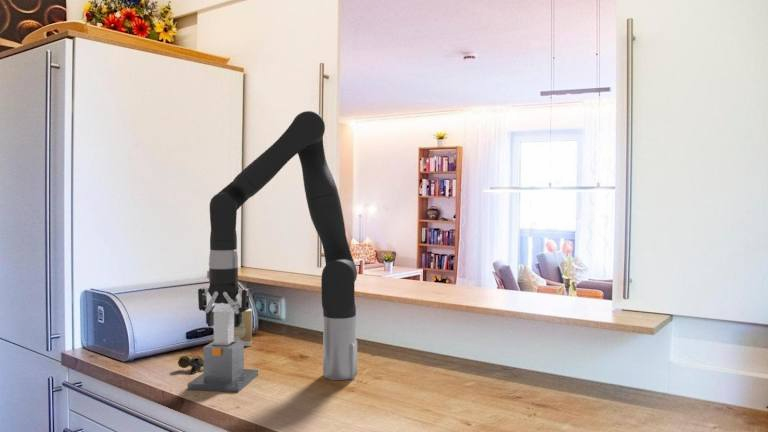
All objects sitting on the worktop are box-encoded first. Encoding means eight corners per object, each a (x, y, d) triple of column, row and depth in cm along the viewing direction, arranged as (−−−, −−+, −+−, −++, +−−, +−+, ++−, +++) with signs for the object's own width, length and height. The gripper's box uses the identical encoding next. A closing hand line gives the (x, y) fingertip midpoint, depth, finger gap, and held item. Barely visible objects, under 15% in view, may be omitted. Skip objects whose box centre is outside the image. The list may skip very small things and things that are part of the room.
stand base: (258, 375, 156) (257, 338, 156) (238, 392, 142) (238, 351, 142) (211, 372, 158) (211, 336, 158) (187, 389, 144) (187, 349, 144)
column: (234, 374, 152) (233, 309, 151) (228, 378, 148) (227, 312, 147) (220, 373, 152) (220, 309, 152) (214, 378, 148) (213, 311, 148)
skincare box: (232, 347, 185) (232, 311, 185) (233, 343, 190) (233, 308, 189) (251, 346, 187) (251, 310, 186) (252, 342, 191) (252, 308, 190)
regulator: (232, 369, 163) (183, 360, 164) (232, 358, 162) (183, 349, 163) (222, 385, 156) (171, 376, 157) (223, 374, 155) (171, 364, 156)
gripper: (254, 264, 152) (254, 324, 152) (205, 263, 154) (205, 322, 154) (243, 268, 144) (243, 330, 145) (192, 267, 146) (192, 328, 147)
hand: (223, 326), depth 150 cm, fingers open, 7 cm apart
